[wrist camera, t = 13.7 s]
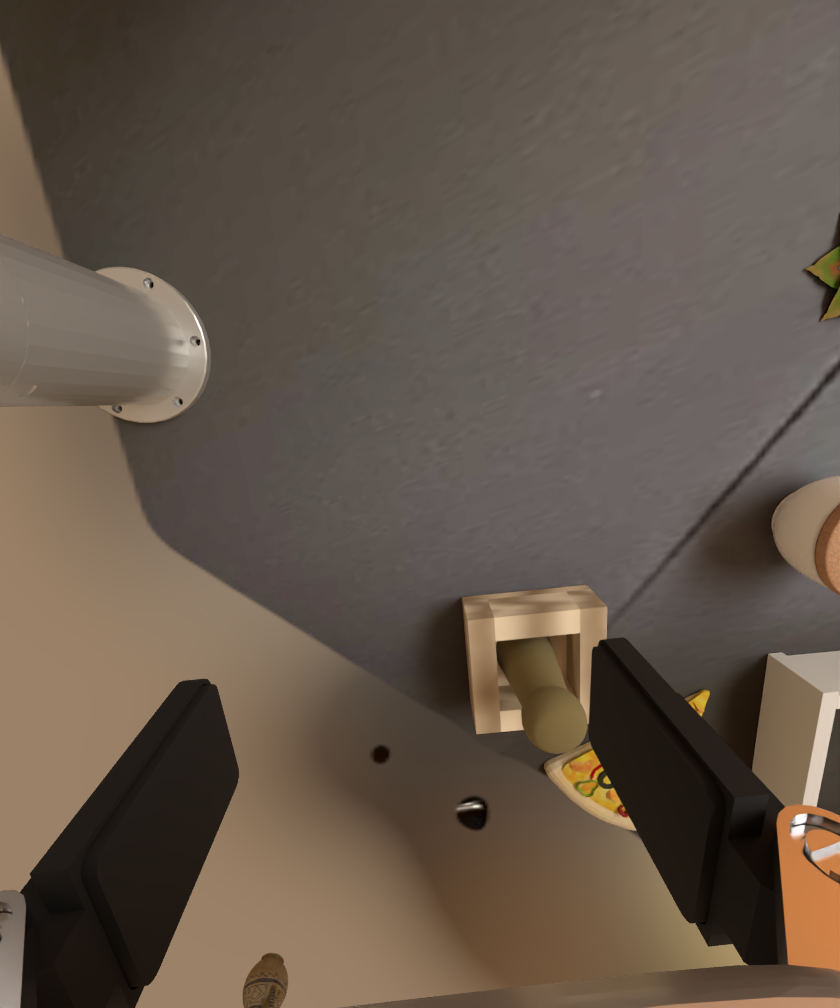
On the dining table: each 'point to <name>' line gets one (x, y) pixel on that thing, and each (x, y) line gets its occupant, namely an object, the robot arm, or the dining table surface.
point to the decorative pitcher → (266, 983)
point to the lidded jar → (811, 531)
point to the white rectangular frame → (796, 724)
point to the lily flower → (830, 278)
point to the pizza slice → (597, 778)
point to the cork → (542, 694)
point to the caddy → (528, 614)
